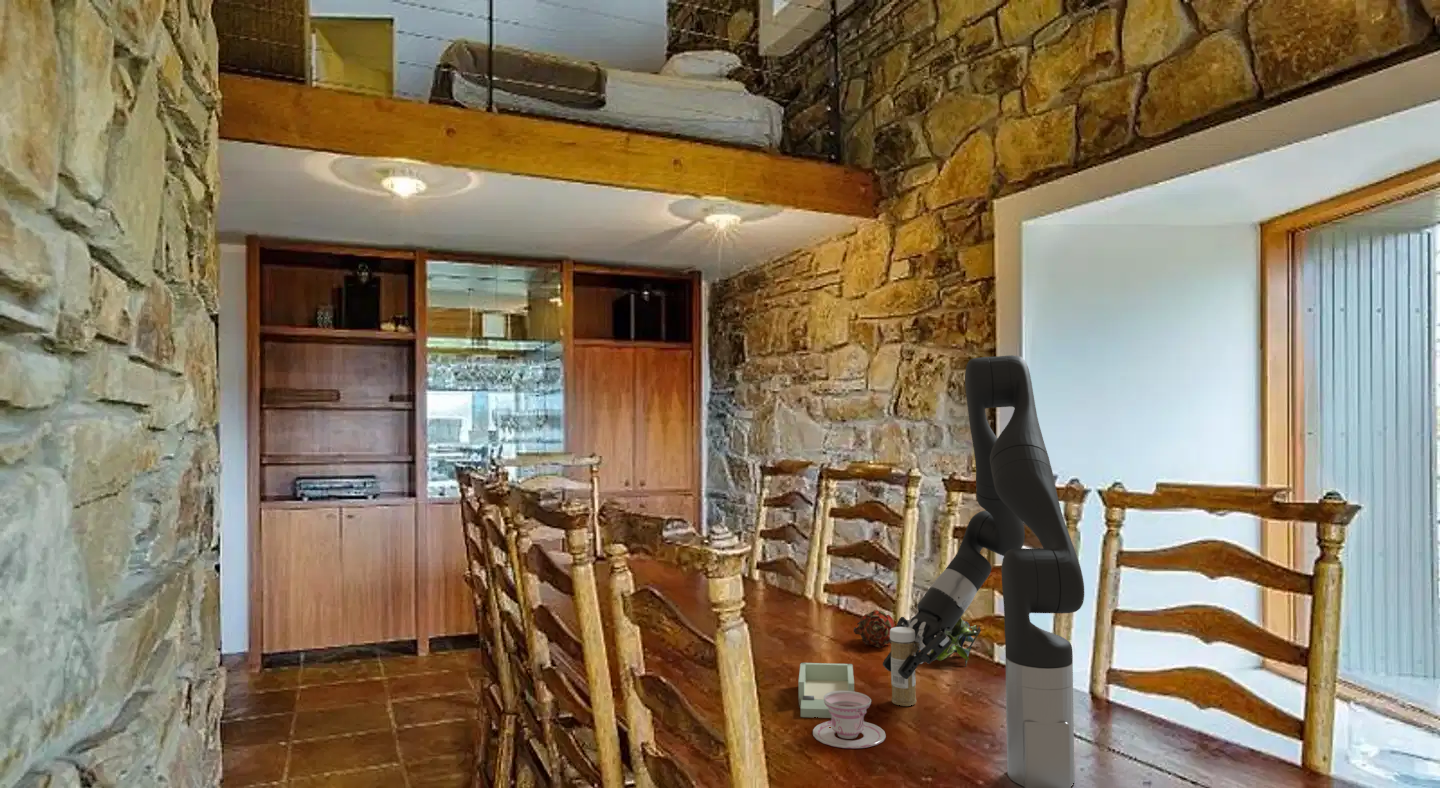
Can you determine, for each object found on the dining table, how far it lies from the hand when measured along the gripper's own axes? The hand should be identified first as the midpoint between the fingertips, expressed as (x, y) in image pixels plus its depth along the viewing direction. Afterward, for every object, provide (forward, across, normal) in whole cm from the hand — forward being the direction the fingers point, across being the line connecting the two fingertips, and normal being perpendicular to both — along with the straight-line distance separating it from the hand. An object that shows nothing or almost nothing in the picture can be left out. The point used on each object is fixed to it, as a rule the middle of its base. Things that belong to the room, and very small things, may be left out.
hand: (894, 671), depth 159 cm
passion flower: (-14, -17, +23) cm, 32 cm away
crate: (+12, -7, -3) cm, 14 cm away
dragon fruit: (-9, -35, +18) cm, 41 cm away
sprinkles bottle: (+3, 0, +6) cm, 6 cm away
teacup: (+15, +9, -6) cm, 19 cm away
